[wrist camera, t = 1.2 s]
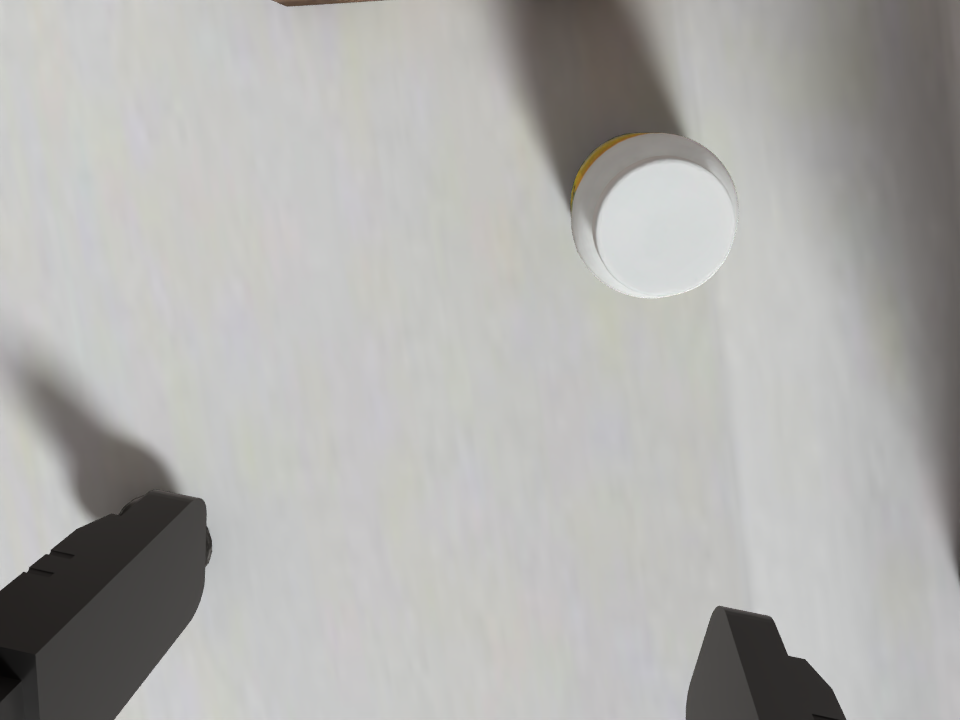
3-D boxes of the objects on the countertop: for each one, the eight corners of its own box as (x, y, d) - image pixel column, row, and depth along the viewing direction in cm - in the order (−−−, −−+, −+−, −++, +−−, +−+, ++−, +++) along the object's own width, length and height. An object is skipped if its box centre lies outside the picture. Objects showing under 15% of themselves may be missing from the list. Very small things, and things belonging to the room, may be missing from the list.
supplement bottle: (721, 226, 29) (792, 271, 20) (603, 284, 31) (621, 351, 22) (667, 105, 28) (716, 96, 19) (547, 171, 30) (540, 193, 20)
